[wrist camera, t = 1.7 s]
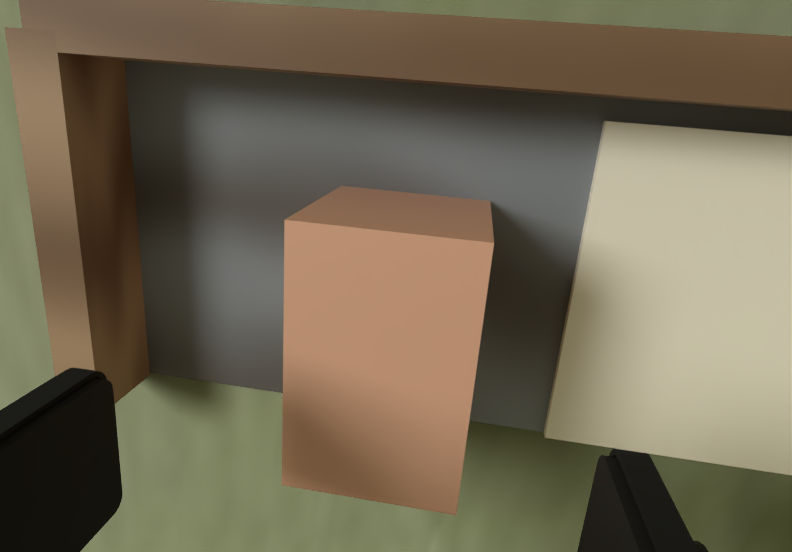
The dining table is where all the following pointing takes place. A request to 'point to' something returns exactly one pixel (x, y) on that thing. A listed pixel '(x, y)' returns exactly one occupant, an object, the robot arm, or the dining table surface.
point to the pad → (682, 300)
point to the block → (382, 343)
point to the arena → (330, 163)
